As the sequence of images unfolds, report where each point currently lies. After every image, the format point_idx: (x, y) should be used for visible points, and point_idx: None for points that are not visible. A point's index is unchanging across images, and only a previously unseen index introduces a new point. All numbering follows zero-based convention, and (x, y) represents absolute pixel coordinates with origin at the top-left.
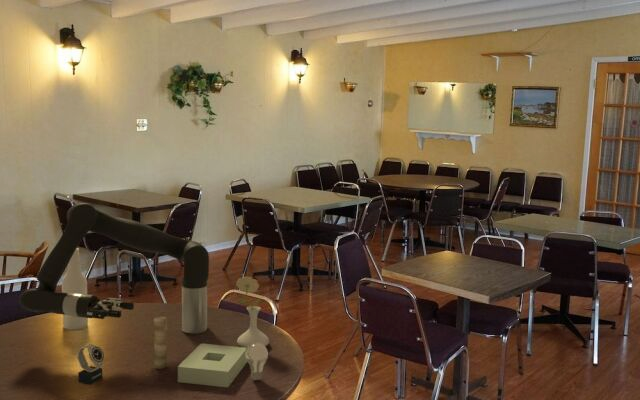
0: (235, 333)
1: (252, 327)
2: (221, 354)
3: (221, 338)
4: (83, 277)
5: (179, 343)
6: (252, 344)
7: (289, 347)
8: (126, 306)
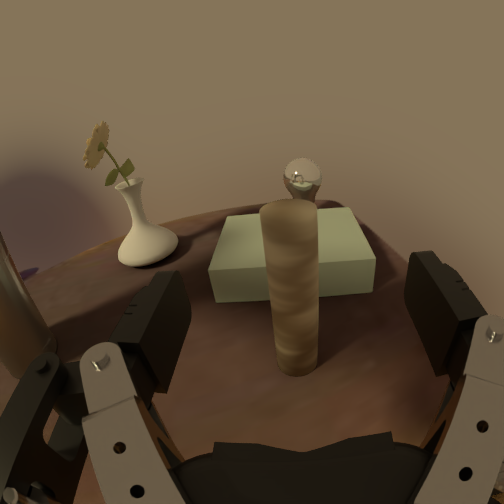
0: (79, 289)
1: (145, 218)
2: None
3: (98, 301)
4: None
5: None
6: (304, 161)
7: (164, 225)
8: (168, 338)
